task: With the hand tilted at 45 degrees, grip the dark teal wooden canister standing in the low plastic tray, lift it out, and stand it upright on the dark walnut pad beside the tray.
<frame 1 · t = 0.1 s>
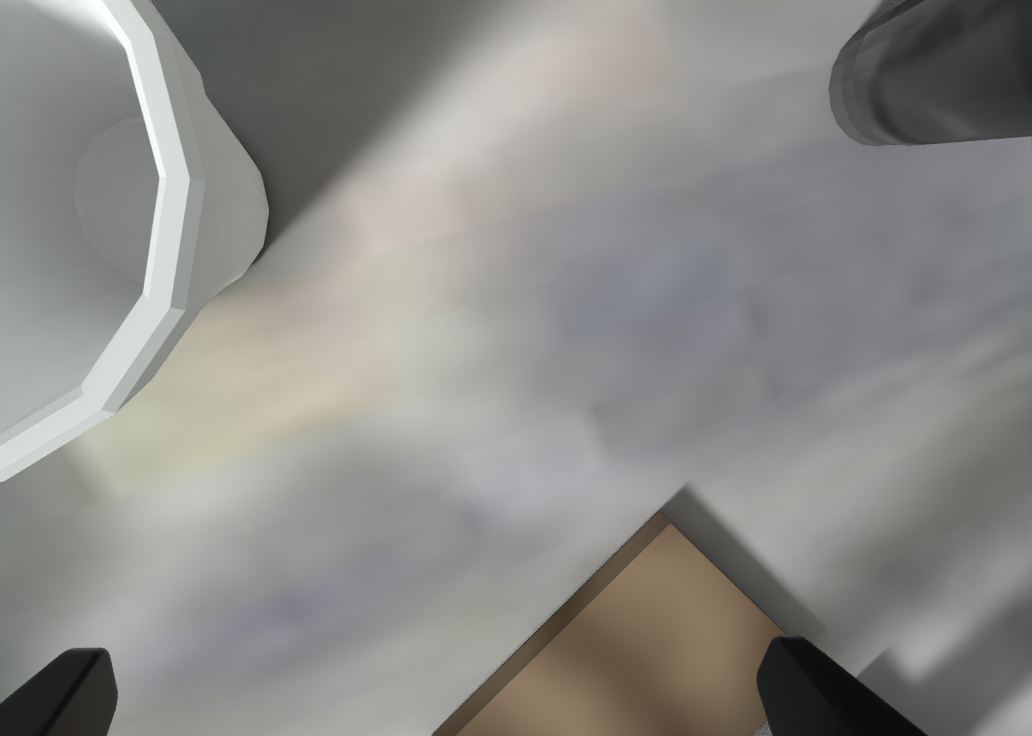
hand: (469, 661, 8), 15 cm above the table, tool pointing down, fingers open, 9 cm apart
beverage cup: (877, 86, 24), on the table
cup: (176, 205, 21), on the table
pad: (626, 691, 28), on the table
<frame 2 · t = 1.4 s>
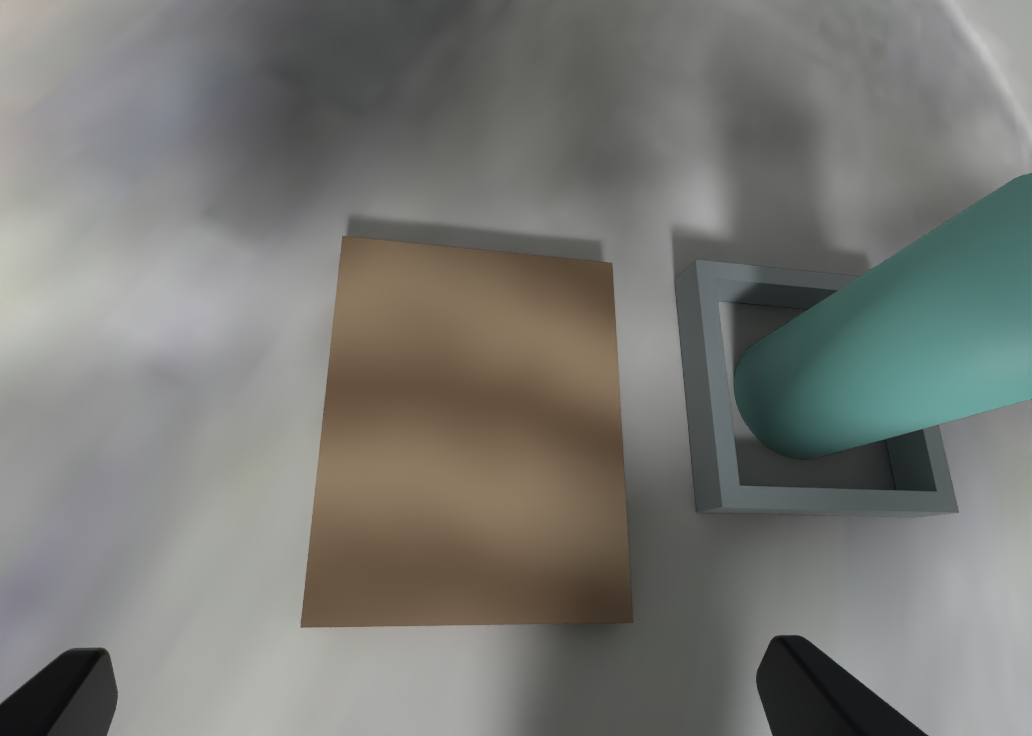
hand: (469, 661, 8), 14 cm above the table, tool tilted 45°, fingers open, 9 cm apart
canister: (899, 348, 21), in the tray
pad: (475, 425, 23), on the table
tray: (792, 395, 26), on the table
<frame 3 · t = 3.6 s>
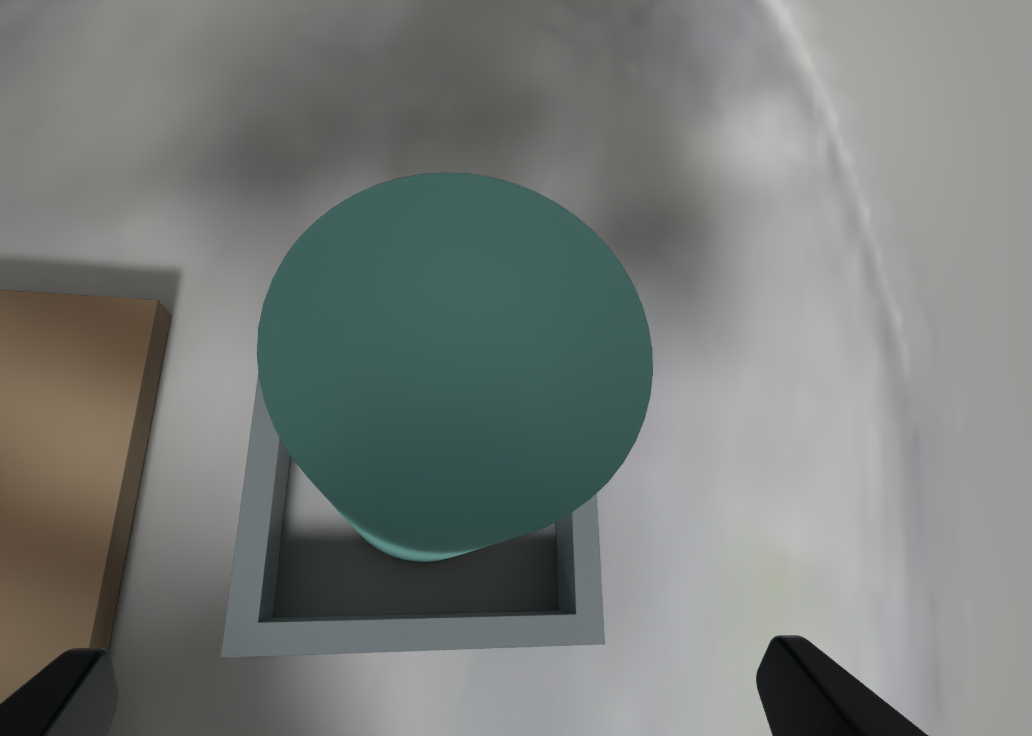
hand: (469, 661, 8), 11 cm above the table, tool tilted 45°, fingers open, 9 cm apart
canister: (438, 432, 14), in the tray
tray: (426, 472, 20), on the table
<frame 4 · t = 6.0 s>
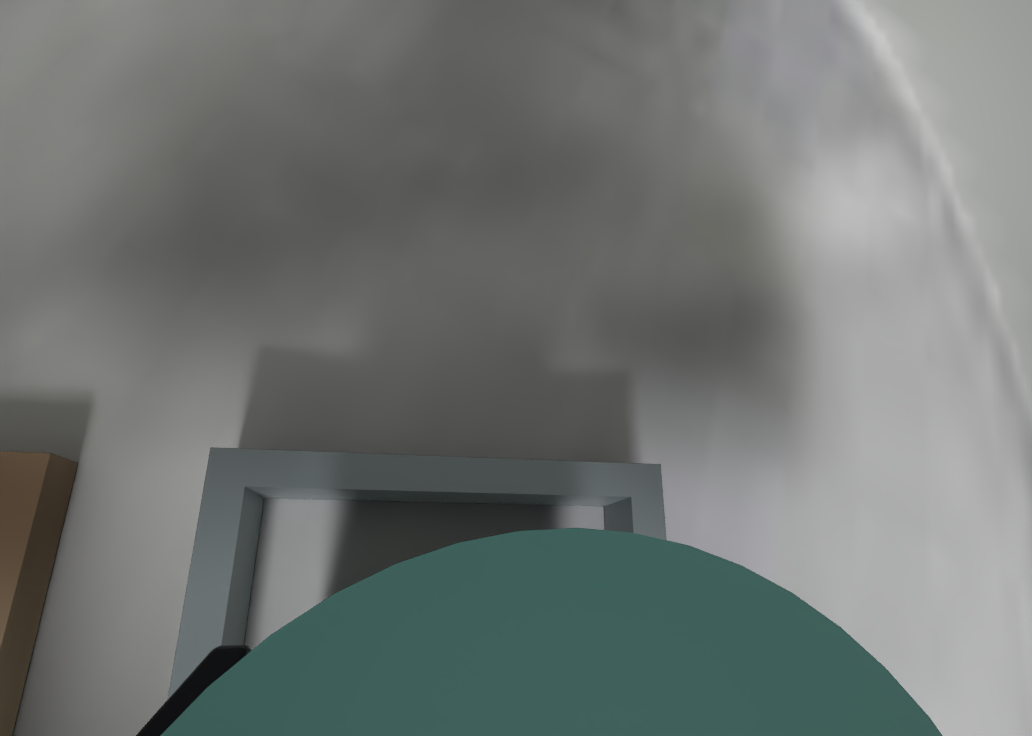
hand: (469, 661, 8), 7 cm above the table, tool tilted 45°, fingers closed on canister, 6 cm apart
tray: (434, 691, 14), on the table
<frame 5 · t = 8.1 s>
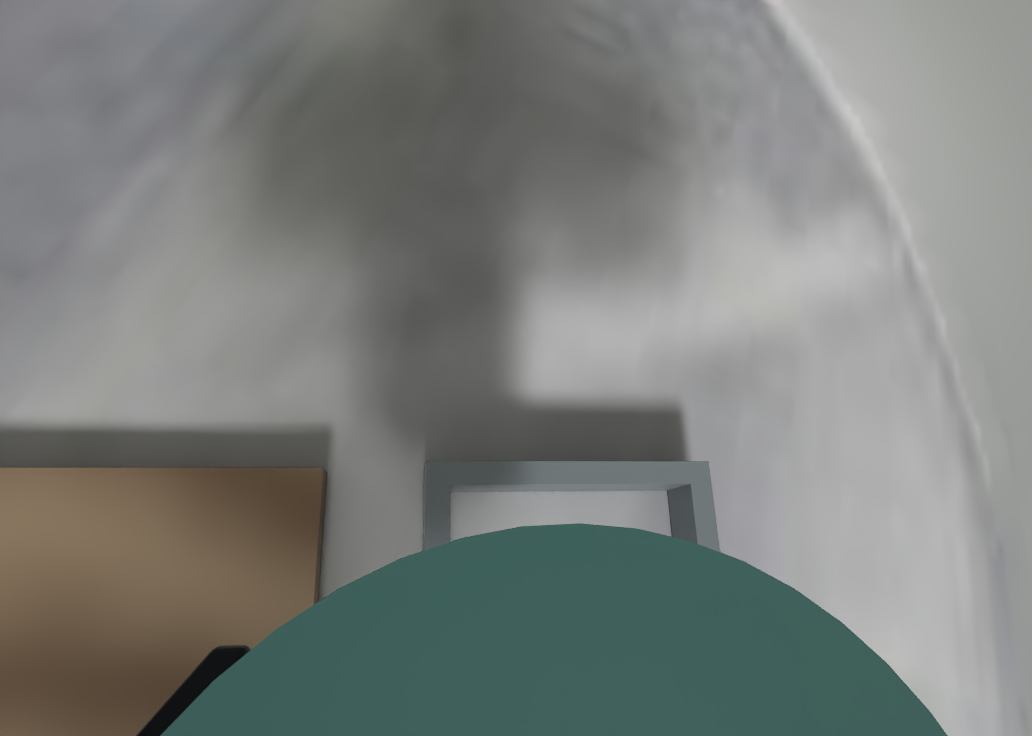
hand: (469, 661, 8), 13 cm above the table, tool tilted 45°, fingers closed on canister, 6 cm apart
pad: (121, 706, 18), on the table
tray: (566, 613, 21), on the table
when the fingers open (9 cm above the table, at t = 10.7 s): canister drops 1 cm, resting on pad.
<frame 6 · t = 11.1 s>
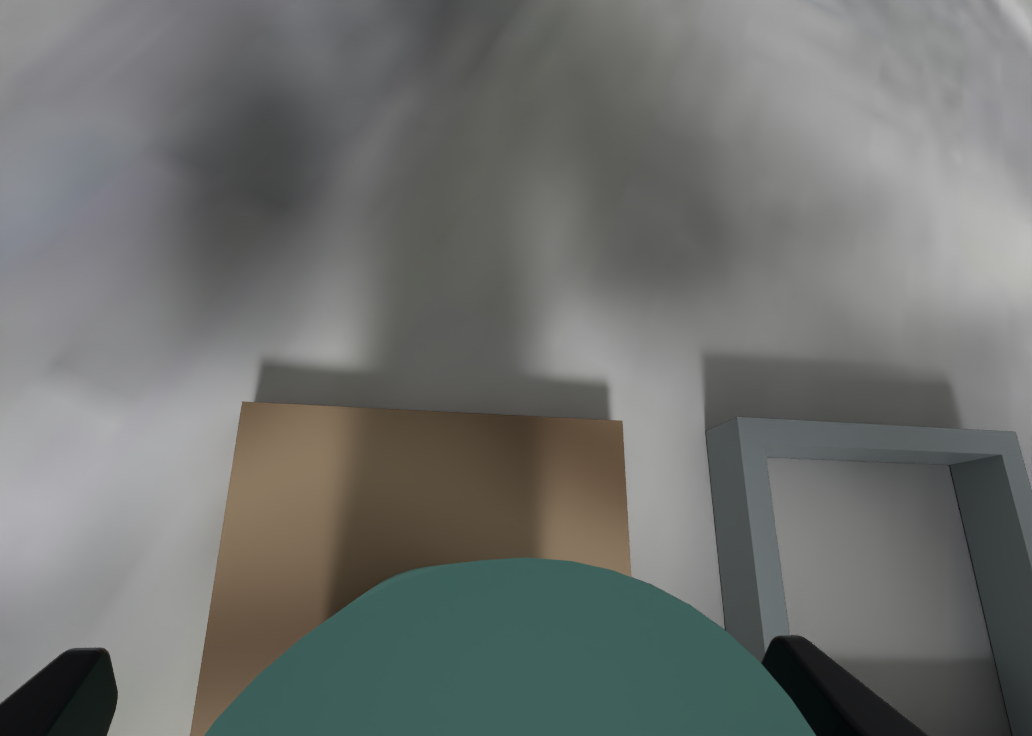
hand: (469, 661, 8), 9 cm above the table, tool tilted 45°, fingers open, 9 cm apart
pad: (428, 672, 16), on the table
tray: (867, 592, 20), on the table
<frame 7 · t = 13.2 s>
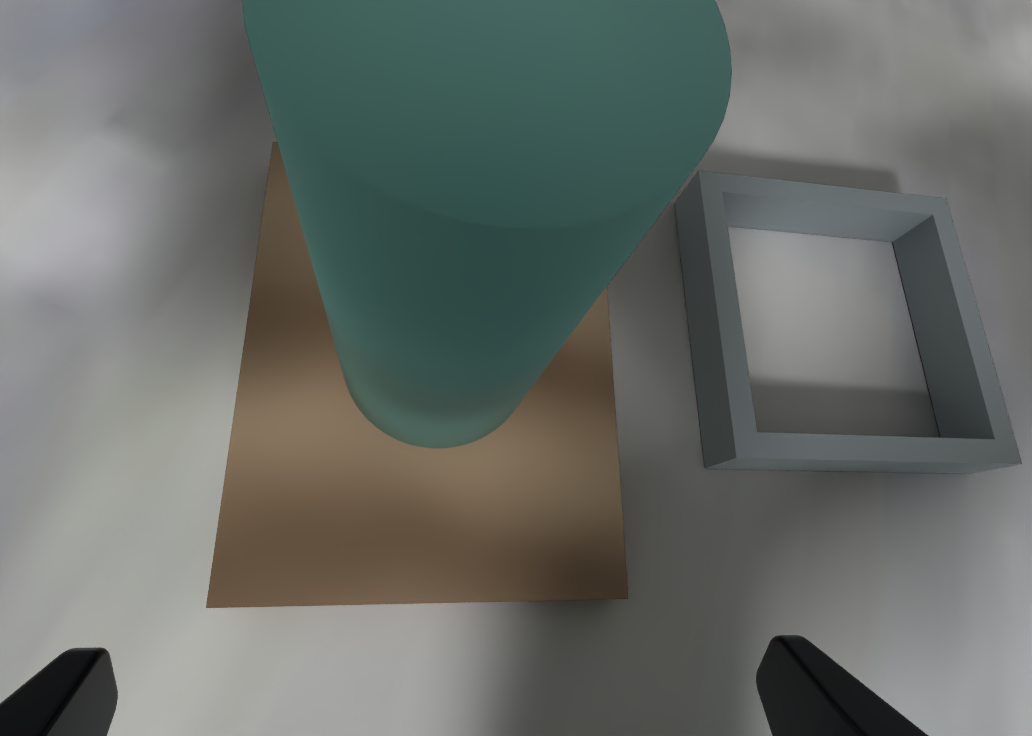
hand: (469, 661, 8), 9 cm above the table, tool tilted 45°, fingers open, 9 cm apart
canister: (456, 261, 12), on the pad, point 7 cm above the table
pad: (435, 366, 19), on the table
tray: (816, 333, 22), on the table
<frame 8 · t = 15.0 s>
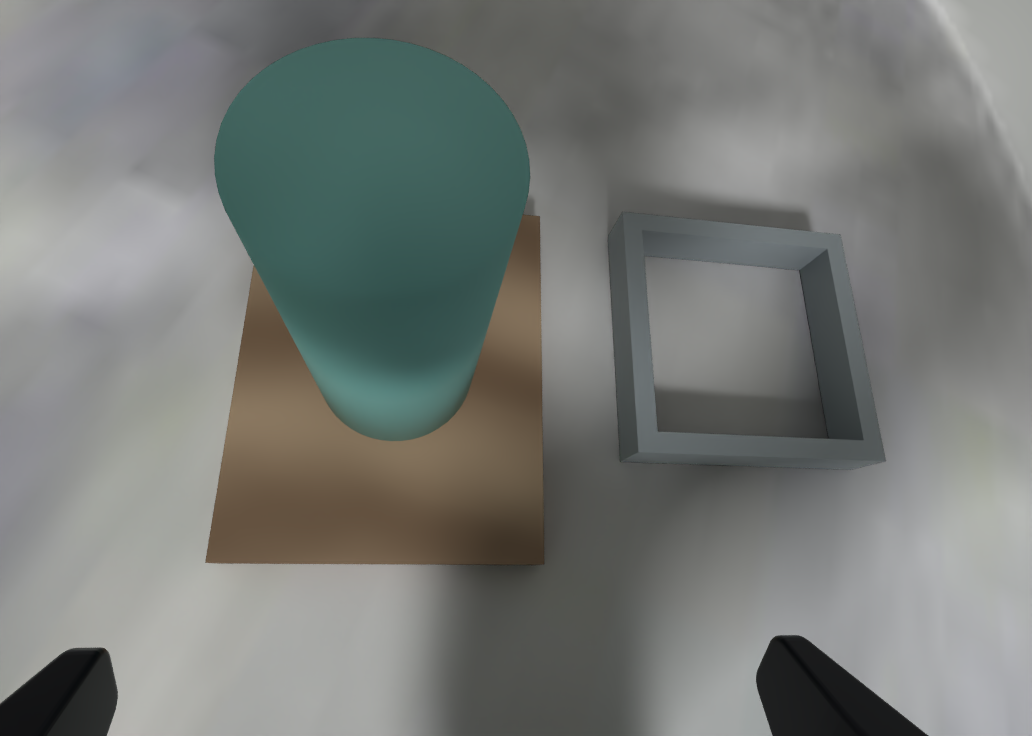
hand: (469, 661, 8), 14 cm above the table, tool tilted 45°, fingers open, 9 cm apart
canister: (390, 297, 17), on the pad, point 7 cm above the table
pad: (396, 374, 23), on the table
tray: (725, 349, 26), on the table
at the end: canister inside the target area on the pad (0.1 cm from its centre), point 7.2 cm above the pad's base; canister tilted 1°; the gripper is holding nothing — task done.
